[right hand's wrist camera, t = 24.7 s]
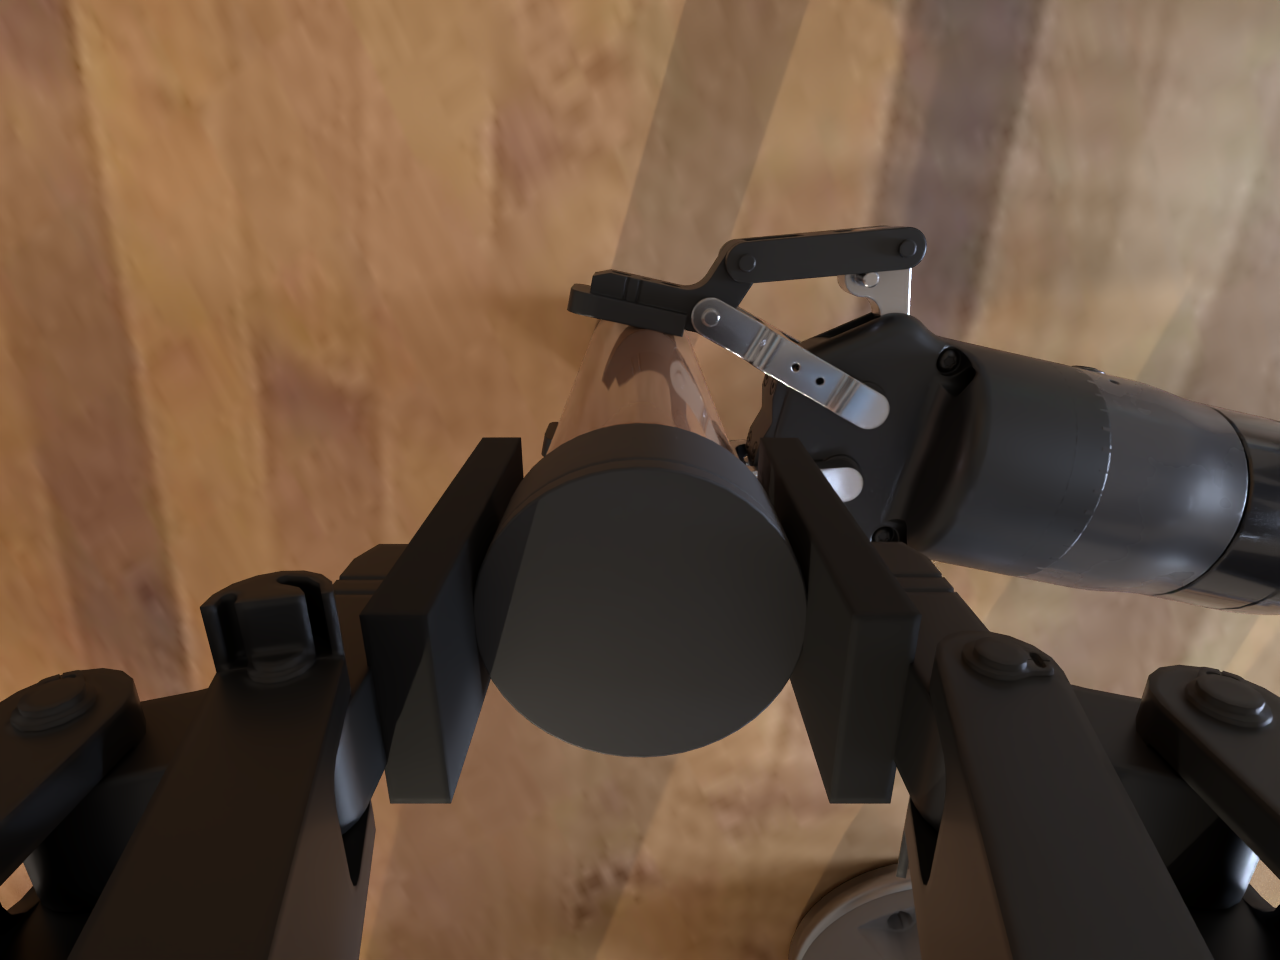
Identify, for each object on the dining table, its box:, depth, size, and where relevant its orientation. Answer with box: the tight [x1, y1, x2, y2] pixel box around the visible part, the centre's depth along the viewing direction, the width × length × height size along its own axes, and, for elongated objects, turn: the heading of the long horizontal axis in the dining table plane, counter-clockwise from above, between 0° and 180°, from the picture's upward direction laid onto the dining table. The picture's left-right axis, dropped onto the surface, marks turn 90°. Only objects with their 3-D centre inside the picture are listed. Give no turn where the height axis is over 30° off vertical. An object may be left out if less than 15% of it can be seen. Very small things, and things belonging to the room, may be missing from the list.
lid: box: [473, 423, 807, 757], centre depth 11 cm, size 5×5×2 cm
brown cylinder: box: [546, 320, 735, 456], centre depth 20 cm, size 4×4×20 cm
